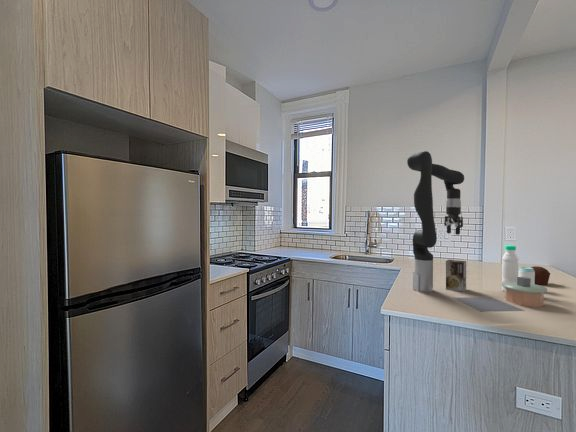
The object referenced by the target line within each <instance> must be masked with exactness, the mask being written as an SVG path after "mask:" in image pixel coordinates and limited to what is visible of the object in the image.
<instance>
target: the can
mask: <svg viewBox="0 0 576 432" xmlns="http://www.w3.org/2000/svg"><path fill="white" fill-rule="evenodd" d="M518 277H527V278H531V282H530V284H535V271H534V270H533V268H531V267H528V266H520V267H519V268H518Z"/></svg>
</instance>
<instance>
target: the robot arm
mask: <svg viewBox="0 0 576 432" xmlns="http://www.w3.org/2000/svg"><path fill="white" fill-rule="evenodd" d="M406 161H407V162H406V163H407V166H408V168H409V169H410V170H412V171H416V172H420V179H419V181H418V184H417V186H416V187H415V190H414V192H413V204H414V208H415V209H414V210H415V211H416V213H417V215H418V216H419V219H420V221H421V228H422V229H417V230H416V231H414V233H413V234H412V235H413V236H412V253H413V256H414V271H413V272H412V290H414V291H416V292H420V293H421V292H422V293H432V292H434V290H433V289H434V255H433V254H432V253H431V252H430V251H429V249H431V248H434V247H435V246H436V243H437V239H438V238H437V230H436V224H435V218H434V202H433V201H434V200H433V188H432V187H433V186H432V184H433V183H432V181H433V180H432V178H433V177H435V178H437V179H439V180H441V181H443V183H444V186H445V191H446V201H445V202H446V204H445V205H446V206H445V209H446V210H445V214H446V215H445V216H444V221H443V223H444V226H445V227H446V234H452V225H453V226H454V227H455V233H454V234H455V235H458V236H459V235H460V234H461V229H462V228H463V227H464V221H463V220H464V217H463V216H461V214H462V202H461V201H462V200H461V195H462V194H461V189H459V188H456V187H454V185H461V184H462V183H464V181H465V176H464V174H463V173H462V172H461V171H459V170H454V169H450V168H448V167H446V166H443V165H440V164H435V163H433V158H432V154H431V153H430V152H429V151H425V150H424V151H420V152H416V153H415V152H414V153H413V154H410V155H409V156H408V158H407V159H406Z"/></svg>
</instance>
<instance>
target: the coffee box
mask: <svg viewBox="0 0 576 432" xmlns="http://www.w3.org/2000/svg"><path fill="white" fill-rule="evenodd" d="M445 290H448V291H459V292H465V291H467V261H466V260H457V259H447V260H445Z"/></svg>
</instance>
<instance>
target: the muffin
mask: <svg viewBox="0 0 576 432" xmlns="http://www.w3.org/2000/svg"><path fill="white" fill-rule="evenodd" d="M530 268H533V270H534V271H535V284H536V285H540V286H548V285H549V284H548V283H549V281H550V276H551V272H550V271H549V270H548V269H546V268H545V267H543V266H530Z"/></svg>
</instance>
